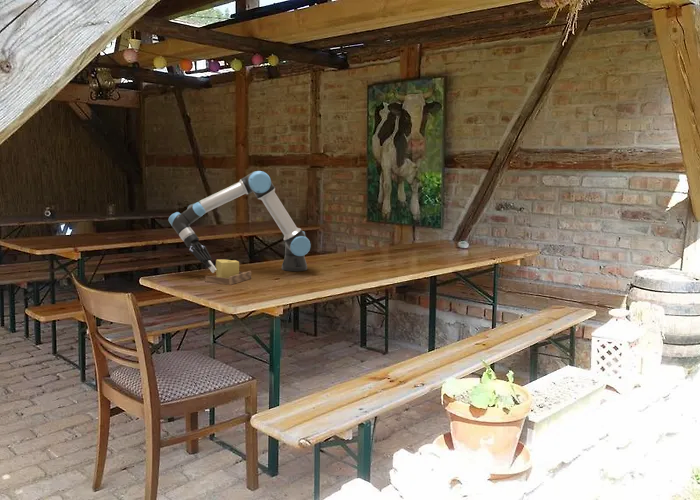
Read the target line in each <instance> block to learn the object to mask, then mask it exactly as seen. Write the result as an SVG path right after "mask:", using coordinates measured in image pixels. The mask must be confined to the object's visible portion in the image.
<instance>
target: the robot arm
mask: <svg viewBox="0 0 700 500" xmlns="http://www.w3.org/2000/svg"><path fill="white" fill-rule="evenodd" d="M252 193H253V194H254V195H255V197H256V199H257V200H260V201H262V203H263V205H264V207H265V208H266V210H267V211H268V213H269V214H270V216H271V217H272V219H273V220H274V222H275V223H276V225H277V226H278V228H279V230H280V231H281V233H282V235H283V241H284V242H285V243H284V247H285V248H284V249H285V250H284V258H283V261H282V264H281V270H282V271H287V272H305V271H307V270H308V264H307V261H306V257H305V255H307V254H308V253H309V252H310V250H311V245H312V244H311V241H310V239H309V238H308V237H307V236H306V232H305V231H303V230H302V228H300V227H297V225H296V224H295V222H294V220H293V219H292V217H291V216H290V214H289V212H288V211H287V209H286V208H285V206H284V205H283V203H282V201H281V200H280V198H279V196H278V195H277V193H276V187H275V185H274V184H273V182H272V179H271V177H270V176H269V174H268V173H266V172H265V171H263V170H262V171H261V170H256V171H255V170H254V171H252V172H250V173H249V174H247V175H246V176H244V177H242V178H240V179H239V181H238V182H235V183H233V184H232V185H230V186H228V187H226V188H224V189H221V190H219V191H218V192H215V193H213V194H210V195H209V196H207V197H205V198H202V199H201V200H199V201H197V202H194V203H192V204H189V205H188V206H187V207H186V208H187V209H186V210H184V211H183V212H181V213H180V212H179V211H176V212H174V213H172V214H171V215H170V216H169V217H168V220H167V221H168V222H169V224H170V225H171V227H172V228H173V229H174V231H175V232H176V234H177V235H178V236H179V238H180V239H181V240H182V241H183V243H184V244H185V246H186V247H187V248H189V249H188V251H189V252H190V253H191V254H192V255H193V256H195V257H196V259H197V260H198V261H199V262H200V263H201V264H202V265H206V267H207V268H208V269H209V270H210V272H211V273H212V274H214V273H216V270H217V269H216V265H214V263H213V262H212V261H211V260H212V256H211V254H210V253H209V251H208V249H207V246H206V245H205V244H203V245H202V243H200V238H199V237H198V235H197V234H196V232H195V231H194V230H193V228H191V224H193V223H194V222H195V221H197V220H199V218H201V217H203V215H206V213H208V212H210V211H212V210H214V209H216V208H219V207H221V206H222V205H225V204H227V203H229V202H231V201H233V200H235V199H237V198H239V197H241V196H243V195H249V194H252Z"/></svg>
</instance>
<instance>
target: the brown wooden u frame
mask: <svg viewBox="0 0 700 500" xmlns="http://www.w3.org/2000/svg"><path fill="white" fill-rule="evenodd" d="M251 279H252V271H251V270H248V271H239V274H237V275H234V276H230V277H229V278H222V277H217V276H214V275H213V276H211V275H205V283H212V284H220V285H229V286H232V285H234V284H237V283H241V282H245V281H248V280H251Z"/></svg>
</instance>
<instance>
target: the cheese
mask: <svg viewBox="0 0 700 500" xmlns="http://www.w3.org/2000/svg"><path fill="white" fill-rule="evenodd" d="M215 268H216V269H217V270H216V271H215V273H216V276H215V277H222V278H229V277H230V276H234V275H237V274H239V272H240V261H238V260H236V259H233V260H231V259H216V260H215Z"/></svg>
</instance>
